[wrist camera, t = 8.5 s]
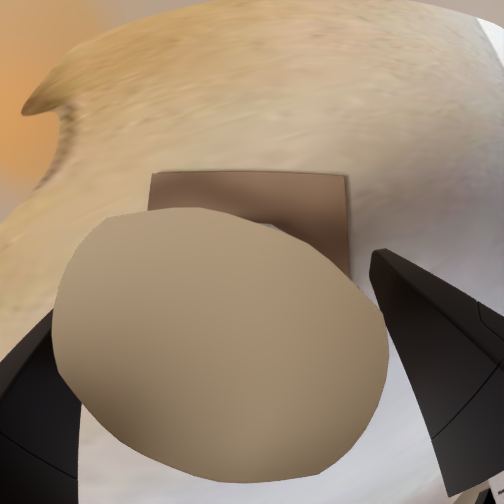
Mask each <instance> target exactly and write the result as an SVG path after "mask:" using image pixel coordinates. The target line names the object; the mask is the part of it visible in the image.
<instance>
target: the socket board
mask: <svg viewBox="0 0 504 504" xmlns="http://www.w3.org/2000/svg"><path fill="white" fill-rule="evenodd" d="M190 207H200V208H205V209H209V210H214V211H219V212H223V213H227V214H231V215H234V216H237V217H240V218H243V219H246V220H249V221H252V222H255V223H258V224H261V225H264V226H267V227H270V228H273V229H276V230H279V231H282V232H284V233H286V234H288V235H290V236H293V237H295V238H297V239H299V240H301V241H303V242H306V243H308V244H309V245H310V246H312V247H313V248H314V249H316V250H317V251H318V252H320V253H321V254H322V255H324V256H325V257H326V258H328V259H329V260H330V261H331V262H332V263H333V264H335V265H336V266H337V267H338V268H339V269H340V270H341V271H342V272H343V273H344V274H345V275H346V276H347V277H348V278H349V257H348V230H347V211H346V196H345V183H344V176H338V175H322V174H303V173H275V172H184V173H157V174H152V178H151V185H150V193H149V202H148V211H151V210H159V209H166V208H190Z"/></svg>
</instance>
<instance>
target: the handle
mask: <svg viewBox="0 0 504 504" xmlns="http://www.w3.org/2000/svg"><path fill="white" fill-rule="evenodd" d="M52 342H53V350H54V356H55V360H56V364H57V368H58V372H59V374H60V375H61V376H62V378H63V379H64V381H65V382H66V383H67V385H68V386H69V387H70V389H71V390H72V391H73V392H74V394H75V395H76V396H77V398H78V399H79V400H80V401H81V402H82V404H83V405H84V406H85V407H86V408H87V409H88V411H89V412H90V413H91V414H92V415H93V416H94V417H95V418H96V420H97V421H98V422H99V423H100V424H101V425H102V426H103V427H104V428H105V429H106V430H108V431H109V432H110V433H111V434H112V435H113V436H114V437H116V438H117V439H118V440H119V441H120V442H122V443H123V444H125V445H127V446H128V447H130V448H132V449H133V450H135V451H137V452H139V453H140V454H142V455H144V456H146V457H149V458H151V459H153V460H155V461H158V462H160V463H162V464H165V465H167V466H170V467H172V468H175V469H177V470H180V471H183V472H185V473H188V474H191V475H193V476H197V477H201V478H205V479H209V480H213V481H217V482H227V483H259V482H271V481H280V480H287V479H294V478H300V477H306V476H312V475H317V474H319V473H321V472H322V471H324V470H326V469H327V468H329V467H330V466H331V465H333V464H334V463H336V462H337V461H338V460H339V459H340V458H341V457H343V456H344V455H345V454H346V453H347V452H348V451H349V450H350V449H351V448H352V447H353V446H354V444H355V443H356V442H357V440H358V439H359V438H360V436H361V435H362V434H363V432H364V431H365V430H366V428H367V426H368V424H369V422H370V420H371V418H372V416H373V414H374V412H375V410H376V408H377V406H378V404H379V401H380V398H381V394H382V391H383V388H384V385H385V381H386V376H387V369H388V361H389V346H388V335H387V330H386V325H385V321H384V317H383V313H382V312H381V311H380V310H379V309H378V308H377V307H376V306H375V305H374V304H373V303H372V302H371V300H370V299H369V298H368V297H367V296H366V295H365V294H364V293H363V292H362V291H361V290H360V289H359V288H358V287H357V286H356V285H355V284H354V283H353V282H352V281H351V280H350V279H349V278H348V277H347V276H346V275H345V274H344V273H343V272H342V271H341V270H340V269H339V268H338V267H337V266H336V265H335V264H333V263H332V262H331V261H330V260H329V259H328V258H326V257H325V256H324V255H322V254H321V253H320V252H318V251H317V250H316V249H314V248H313V247H312V246H310V245H309V244H308V243H306V242H303V241H301V240H299V239H297V238H295V237H293V236H290V235H288V234H286V233H284V232H282V231H279V230H276V229H273V228H270V227H267V226H264V225H261V224H258V223H255V222H252V221H249V220H246V219H243V218H240V217H237V216H234V215H231V214H227V213H223V212H219V211H214V210H209V209H205V208H200V207H190V208H166V209H159V210H151V211H144V212H138V213H132V214H126V215H121V216H115V217H110V218H106V219H105V220H104V221H103V222H101V223H100V224H99V225H98V226H97V227H96V228H94V229H93V230H92V231H91V232H90V233H89V234H88V236H87V237H86V238H85V239H84V240H83V241H82V242H81V243H80V244H79V246H78V248H77V249H76V251H75V253H74V254H73V256H72V258H71V259H70V261H69V263H68V265H67V267H66V270H65V272H64V275H63V277H62V280H61V282H60V285H59V287H58V292H57V296H56V300H55V305H54V310H53V319H52Z"/></svg>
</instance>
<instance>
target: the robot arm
mask: <svg viewBox="0 0 504 504" xmlns="http://www.w3.org/2000/svg"><path fill="white" fill-rule="evenodd" d="M369 278H370V281H371V284H372V287H373V290H374V293H375V296H376V299H377V302H378V305H379V308H380V311H381V312H382V313H383V317H384V321H385V325H386V327H387V329H388V331H389V334H390V336H391V338H392V341H393V343H394V345H395V347H396V350H397V352H398V354H399V357H400V359H401V362H402V364H403V366H404V369H405V371H406V374H407V376H408V379H409V381H410V384H411V386H412V389H413V391H414V394H415V397H416V399H417V402H418V405H419V407H420V410H421V413H422V415H423V418H424V421H425V424H426V427H427V430H428V432H429V435H430V438H431V442H432V445H433V448H434V451H435V454H436V457H437V460H438V464H439V467H440V470H441V474H442V477H443V481H444V484H445V488H446V491H447V495H448V497H452V496H454V495H456V494H459V493H461V492H463V491H465V490H467V489H470V488H472V487H474V486H476V485H478V484H480V483H482V482H484V481H486V480H488V482H489V485H490V486H489V487H488V488H486V489H484V490H483V491H481V492H480V493H479V495H478V498H477V500H476V502H475V504H504V316H502V315H500V314H498V313H497V312H495V311H493V310H492V309H490V308H488V307H487V306H485V305H484V304H482V303H480V302H479V301H478V302H477V301H476V300H475V299H474V298H472V297H471V296H469V295H467V294H466V293H464V292H462V291H461V290H459V289H457V288H456V287H454V286H452V285H450V284H449V283H447V282H445V281H444V280H442V279H440V278H438V277H437V276H435V275H433V274H431V273H430V272H428V271H426V270H424V269H423V268H421V267H419V266H417V265H415V264H414V263H412V262H410V261H408V260H406V259H405V258H403V257H401V256H399V255H397V254H395V253H394V252H392V251H390V250H388V249H378V250H374V251H373V252H372V256H371V263H370V270H369ZM53 310H54V308H53V309H52V310H51V311H50V312H49V313H48V314H47V315H46V316H45V317H44V318H43V319H42V320H41V321H40V322H39V323H38V324H37V325H36V326H35V327H34V328H33V329H32V330H31V331H30V332H29V333H28V334H27V335H26V336H25V337H24V338H23V339H22V340H21V341H20V342H19V343H18V344H17V345H16V346H15V347H14V348H13V349H12V350H11V351H10V352H9V353H8V355H7V356H6V357H5V358H4V359H3V360H2V361H1V362H0V504H78V480H77V479H78V448H79V430H80V417H81V406H82V402H81V401H80V400H79V399H78V398H77V396H76V395H75V394H74V392H73V391H72V390H71V389H70V387H69V386H68V385H67V383H66V382H65V381H64V379H63V378H62V376H61V375H60V374H59V372H58V368H57V364H56V360H55V356H54V350H53V342H52V319H53Z"/></svg>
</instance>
